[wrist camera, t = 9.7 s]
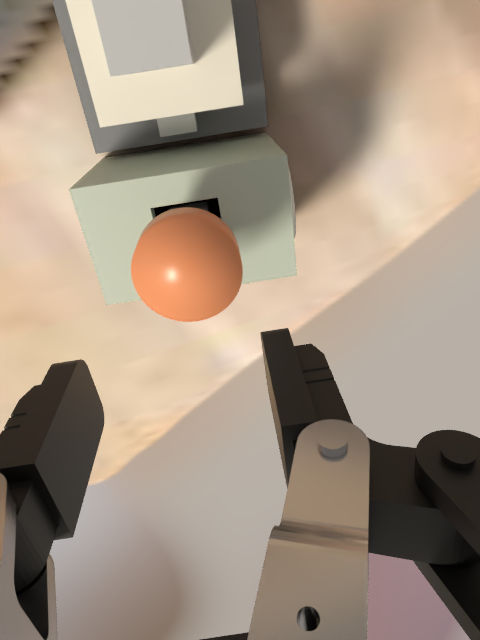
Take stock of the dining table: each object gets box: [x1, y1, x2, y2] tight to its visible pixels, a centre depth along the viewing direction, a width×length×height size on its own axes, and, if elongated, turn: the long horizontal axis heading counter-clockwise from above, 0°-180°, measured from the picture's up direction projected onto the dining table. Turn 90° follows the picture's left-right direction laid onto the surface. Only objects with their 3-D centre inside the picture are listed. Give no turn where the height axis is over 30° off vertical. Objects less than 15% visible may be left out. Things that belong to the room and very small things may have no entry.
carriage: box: [65, 0, 244, 128], centre depth 19 cm, size 7×7×8 cm
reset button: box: [131, 201, 243, 322], centre depth 21 cm, size 4×4×7 cm
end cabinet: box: [69, 132, 297, 305], centre depth 25 cm, size 10×6×8 cm, turn 98°
